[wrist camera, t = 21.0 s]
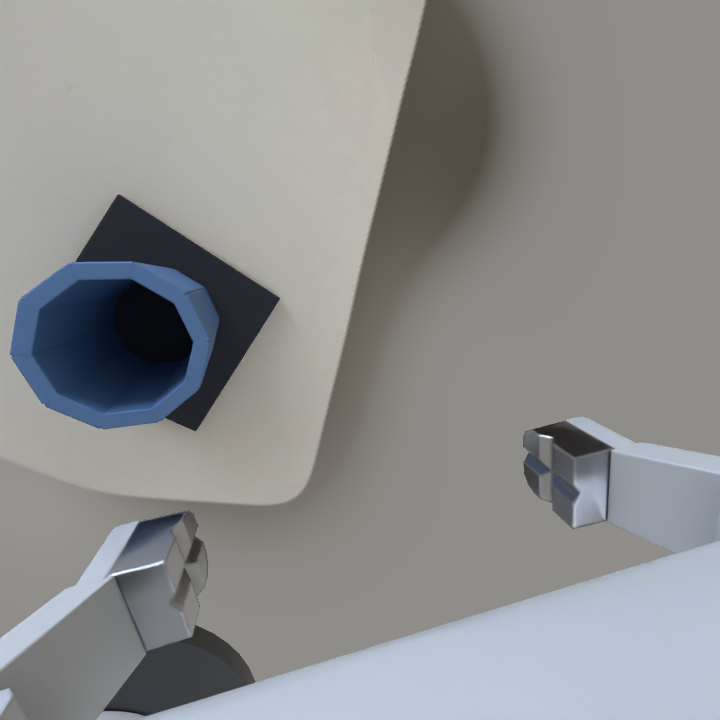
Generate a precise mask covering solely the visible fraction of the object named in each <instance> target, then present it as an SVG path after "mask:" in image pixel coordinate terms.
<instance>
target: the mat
mask: <svg viewBox="0 0 720 720" xmlns="http://www.w3.org/2000/svg"><path fill="white" fill-rule="evenodd" d="M76 262H137V263H143V264H149V265H155V266H161V267H166V268H172V269H176V270H177V271H179V272H180V273H182V274H184V275H185V276H187V277H189V278H190V279H192V280H194V281H195V282H197V283H199V284H200V285H202V286H204V287H205V289H206V290H207V292H208V294H209V296H210V298H211V300H212V303H213V305H214V307H215V309H216V311H217V313H218V315H219V325H218V329H217V333H216V338H215V342H214V346H213V350H212V353H211V356H210V359H209V362H208V365H207V368H206V371H205V374H204V377H203V381H202V384H201V386H200V388H199V390H198V391H197V392H195V393H194V394H193V395H192V396H191V397H189V398H188V399H187V400H186V401H184V402H183V403H182V404H181V405H180V406H178V407H177V408H176V409H175V410H174V411H172V412H171V413H170V414H169V415H167V416H166V417H165V418H167V419H169V420H172V421H174V422H176V423H178V424H180V425H183V426H185V427H187V428H189V429H192V430H194V431H196V430H197V429H198V427H199V426H200V424H201V422H202V421H203V419H204V418H205V416H206V415H207V413H208V411H209V410H210V408H211V407H212V405H213V404H214V402H215V400H216V399H217V397H218V396H219V394H220V392H221V391H222V389H223V388H224V386H225V385H226V383H227V381H228V380H229V378H230V377H231V375H232V374H233V372H234V370H235V369H236V367H237V366H238V364H239V362H240V361H241V359H242V358H243V356H244V355H245V353H246V351H247V350H248V348H249V347H250V345H251V343H252V342H253V340H254V339H255V337H256V336H257V334H258V332H259V331H260V329H261V328H262V326H263V325H264V323H265V321H266V320H267V318H268V317H269V315H270V313H271V312H272V310H273V309H274V307H275V306H276V304H277V302H278V301H279V299H280V298H279V297H277V296H276V295H274V294H272V293H271V292H269V291H268V290H266V289H265V288H263V287H262V286H260V285H259V284H257V283H255V282H254V281H252V280H251V279H249V278H248V277H246V276H245V275H243V274H241V273H240V272H238V271H237V270H235V269H234V268H232V267H231V266H229V265H228V264H226V263H224V262H223V261H221V260H220V259H218V258H217V257H215V256H214V255H212V254H210V253H209V252H207V251H206V250H204V249H203V248H201V247H200V246H198V245H197V244H195V243H193V242H192V241H190V240H189V239H187V238H186V237H184V236H183V235H181V234H179V233H178V232H176V231H175V230H173V229H172V228H170V227H169V226H167V225H166V224H164V223H162V222H161V221H159V220H158V219H156V218H155V217H153V216H152V215H150V214H148V213H147V212H145V211H144V210H142V209H141V208H139V207H138V206H136V205H135V204H133V203H131V202H130V201H128V200H127V199H125V198H124V197H122V196H121V195H117V197H116V198H115V200H114V202H113V203H112V205H111V206H110V208H109V210H108V211H107V213H106V214H105V216H104V217H103V219H102V221H101V222H100V224H99V225H98V227H97V229H96V230H95V232H94V233H93V235H92V236H91V238H90V240H89V241H88V243H87V244H86V246H85V248H84V249H83V251H82V252H81V254H80V256H79V257H78V259H77V260H76ZM113 326H114V328H115V330H116V332H117V333H118V335H119V337H120V339H121V340H122V342H123V344H124V346H125V348H126V349H127V350H128V351H130V352H132V353H134V354H136V355H138V356H140V357H142V358H144V359H146V360H148V361H150V362H152V363H161V362H172V361H183V360H184V359H185V358H186V357H188V356H189V355H190V354H191V350H192V346H193V341H192V339H191V337H190V335H189V333H188V331H187V329H186V326H185V324H184V322H183V320H182V318H181V316H180V314H179V312H178V310H177V308H176V306H175V304H174V303H172V302H170V301H169V300H167V299H165V298H163V297H162V296H160V295H158V294H156V293H155V292H153V291H151V290H149V289H148V288H146V287H144V286H142V285H141V284H139V283H136V284H135V285H134V286H132V287H131V288H130V289H128V290H127V291H126V292H124V293H123V294H122V295H121V296H119V297H118V300H117V305H116V310H115V315H114V321H113Z"/></svg>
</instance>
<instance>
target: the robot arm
mask: <svg viewBox="0 0 720 720" xmlns="http://www.w3.org/2000/svg"><path fill="white" fill-rule="evenodd" d="M523 447H524V448H525V449H526V450H527V451H528V452H529V454H528V455H527V457H526V459H525V461H524V474H525V477H526V480H527V482H528V485H529V486H530V488H531V489H532V491H533V492H534V493H535V494H536V495H537V496H538V497H539V498H540V499H543V500H545V501H548V502H551V503H552V508H553V511H554V512H555V513H556V514H557V515H558V516H559V517H560V518H561V519H562V520H564V521H565V522H566V523H567V524H568V525H569V526H570V527H571V528H572V529H576V528H580V527H584V526H588V525H592V524H596V523H600V522H604V521H607V523H609V524H611V525H614V526H616V527H618V528H621V529H623V530H625V531H627V532H629V533H632V534H634V535H636V536H639V537H641V538H643V539H645V540H647V541H649V542H652V543H654V544H656V545H659V546H661V547H663V548H665V549H667V550H670V551H672V552H674V553H676V554H673V555H670V556H667V557H664V558H660V559H657V560H654V561H651V562H647V563H644V564H641V565H637V566H634V567H631V568H628V569H624V570H622V571H618V572H615V573H611V574H608V575H605V576H602V577H598V578H595V579H592V580H589V581H585V582H582V583H579V584H575V585H572V586H569V587H566V588H563V589H560V590H556V591H553V592H549V593H546V594H543V595H540V596H536V597H533V598H530V599H527V600H523V601H520V602H517V603H513V604H510V605H507V606H504V607H501V608H497V609H494V610H490V611H487V612H484V613H481V614H478V615H474V616H471V617H468V618H465V619H461V620H458V621H454V622H451V623H448V624H445V625H441V626H438V627H435V628H432V629H428V630H425V631H422V632H418V633H415V634H412V635H409V636H405V637H402V638H399V639H395V640H392V641H389V642H386V643H382V644H379V645H376V646H373V647H369V648H366V649H363V650H360V651H357V652H353V653H350V654H347V655H343V656H340V657H337V658H334V659H331V660H327V661H324V662H321V663H318V664H315V665H311V666H308V667H305V668H301V669H298V670H295V671H292V672H288V673H285V674H282V675H279V676H276V677H272V678H269V679H266V680H263V681H259V682H256V683H253V684H250V685H246V686H243V687H240V688H237V689H233V690H230V691H227V692H224V693H221V694H217V695H214V696H211V697H208V698H204V699H201V700H198V701H195V702H191V703H188V704H185V705H181V706H178V707H175V708H171V709H168V710H165V711H162V712H158V713H155V714H152V715H148V716H143V715H140V714H135V713H130V712H122V711H103V710H104V709H105V707H106V706H107V705H108V704H109V702H110V701H111V700H112V698H113V697H114V696H115V694H116V693H117V692H118V690H119V689H120V688H121V687H122V685H123V684H124V683H125V681H126V680H127V679H128V677H129V676H130V675H131V673H132V672H133V671H134V670H135V668H136V667H137V666H138V664H139V663H140V662H141V660H142V659H143V658H144V656H145V655H146V651H149V650H152V649H156V648H159V647H162V646H165V645H168V644H171V643H175V642H178V641H181V640H184V639H187V638H191V637H192V636H193V632H194V628H195V624H196V620H197V616H198V613H199V609H200V605H199V602H198V599H197V596H198V595H199V594H200V593H201V592H202V590H203V589H204V588H205V585H206V580H207V574H208V560H207V553H206V549H205V546H204V542H203V541H201V540H200V539H198V538H197V537H195V533H196V530H197V527H198V524H197V521H196V518H195V516H194V513H192V512H191V511H190V510H187V511H182V512H177V513H172V514H168V515H163V516H159V517H154V518H150V519H145V520H142V521H141V520H140V521H135V522H131V523H127V524H124V525H119V526H117V527H115V528H113V530H112V531H111V533H110V534H109V536H108V537H107V539H106V540H105V542H104V543H103V545H102V546H101V548H100V549H99V551H98V552H97V554H96V555H95V557H94V558H93V560H92V561H91V563H90V564H89V566H88V568H87V569H86V570H85V572H84V574H83V575H82V577H81V578H80V580H79V581H78V583H77V584H76V586H73V587H69V588H66V589H65V590H63V591H62V592H61V593H60V594H58V595H57V596H56V597H54V598H53V599H52V600H50V601H49V602H48V603H46V604H45V605H44V606H42V607H41V608H40V609H39V610H37V611H36V612H34V613H33V614H32V615H31V616H29V617H28V618H27V619H25V620H24V621H23V622H21V623H20V624H19V625H17V626H16V627H15V628H13V629H12V630H11V631H9V632H8V633H7V634H5V635H4V636H3V637H2V638H0V720H720V456H714V455H709V454H703V453H698V452H693V451H687V450H682V449H676V448H671V447H665V446H660V445H654V444H649V443H644V442H642V443H637V444H636V443H634V442H633V441H631V440H629V439H627V438H625V437H623V436H621V435H619V434H617V433H615V432H613V431H611V430H609V429H607V428H605V427H603V426H601V425H599V424H598V423H596V422H594V421H592V420H590V419H588V418H586V417H576V418H572V419H569V420H565V421H561V422H558V423H555V424H551V425H547V426H543V427H540V428H536V429H532V430H528V431H525V434H524V437H523Z"/></svg>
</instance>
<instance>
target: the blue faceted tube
mask: <svg viewBox="0 0 720 720" xmlns="http://www.w3.org/2000/svg"><path fill="white" fill-rule="evenodd" d="M136 283H139V284H141V285H142V286H144V287H146V288H148V289H149V290H151V291H153V292H155V293H156V294H158V295H160V296H162V297H163V298H165V299H167V300H169V301H170V302H172V303H174V304H175V306H176V308H177V310H178V312H179V314H180V316H181V318H182V320H183V322H184V324H185V326H186V329H187V331H188V333H189V335H190V337H191V339H192V341H193V346H192V350H191V354H190V355H189V356H188V357H186V358H185V359H184V360H183V361H172V362H161V363H152V362H150V361H148V360H146V359H144V358H142V357H140V356H138V355H136V354H134V353H132V352H130V351H128V350H127V349H126V348H125V346H124V344H123V342H122V340H121V339H120V337H119V335H118V333H117V332H116V330H115V328H114V326H113V321H114V315H115V310H116V305H117V300H118V297H119V296H121V295H122V294H123V293H124V292H126V291H127V290H128V289H130V288H131V287H132V286H134V285H135V284H136ZM218 325H219V315H218V313H217V311H216V309H215V307H214V305H213V303H212V300H211V298H210V296H209V294H208V292H207V290H206V289H205V287H204V286H202V285H200V284H199V283H197V282H195V281H194V280H192V279H190V278H189V277H187V276H185V275H184V274H182V273H180V272H179V271H177V270H176V269H172V268H166V267H161V266H155V265H149V264H143V263H137V262H72V263H71V264H66V265H65V266H63V267H62V268H60V269H59V270H58V271H56V272H55V273H54V274H52V275H51V276H50V277H48V278H47V279H46V280H44V281H43V282H41V283H40V284H39V285H37V286H36V287H35V288H33V289H32V290H31V291H29V292H28V293H27V294H25V295H24V296H23V297H21V300H19V301H18V307H17V314H16V320H15V326H14V332H13V338H12V344H11V350H10V355H12V357H11V358H12V360H13V361H14V363H15V364H16V366H17V367H18V369H19V370H20V372H21V373H22V375H23V376H24V378H25V379H26V381H27V382H28V384H29V385H30V387H31V388H32V390H33V391H34V393H35V394H36V395H37V397H38V398H39V400H40V401H41V403H42V404H45V406H46V407H48V408H50V409H53V410H55V411H57V412H60V413H62V414H65V415H67V416H70V417H72V418H74V419H77V420H79V421H82V422H84V423H87V424H89V425H92V426H94V427H96V428H102V429H109V428H117V427H125V426H132V425H140V424H148V423H156V422H158V421H159V420H160V421H161V420H163V419H164V418H165V417H166V416H167V415H169V414H170V413H171V412H172V411H174V410H175V409H176V408H177V407H178V406H180V405H181V404H182V403H183V402H184V401H186V400H187V399H188V398H189V397H191V396H192V395H193V394H194V393H195V392H197V391H198V390H199V388H200V386H201V384H202V381H203V377H204V374H205V371H206V368H207V365H208V362H209V359H210V356H211V353H212V350H213V346H214V342H215V338H216V333H217V329H218Z"/></svg>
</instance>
